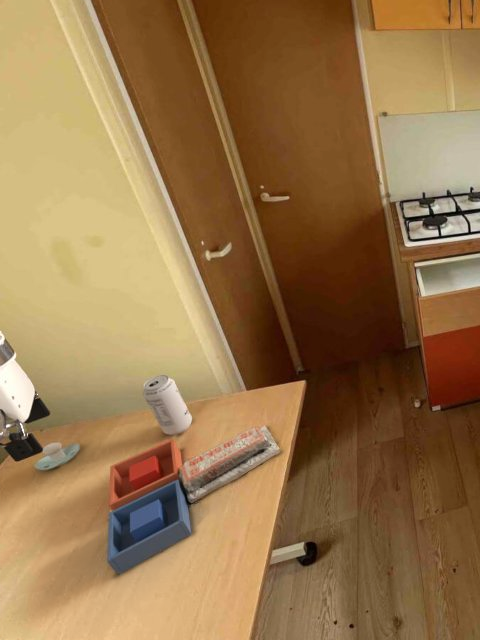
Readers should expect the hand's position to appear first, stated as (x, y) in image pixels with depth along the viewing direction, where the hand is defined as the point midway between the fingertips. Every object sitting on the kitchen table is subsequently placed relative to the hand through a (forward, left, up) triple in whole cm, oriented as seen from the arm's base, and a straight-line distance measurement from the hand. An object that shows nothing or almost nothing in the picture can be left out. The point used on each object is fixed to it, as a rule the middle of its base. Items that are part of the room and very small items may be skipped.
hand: (34, 436), depth 72 cm
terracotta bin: (+8, +5, -26) cm, 28 cm away
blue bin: (+8, -8, -26) cm, 28 cm away
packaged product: (+23, -1, -26) cm, 35 cm away
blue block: (+8, -8, -26) cm, 28 cm away
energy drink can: (+14, +20, -26) cm, 36 cm away
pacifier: (-8, +26, -26) cm, 38 cm away
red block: (+8, +5, -26) cm, 28 cm away
